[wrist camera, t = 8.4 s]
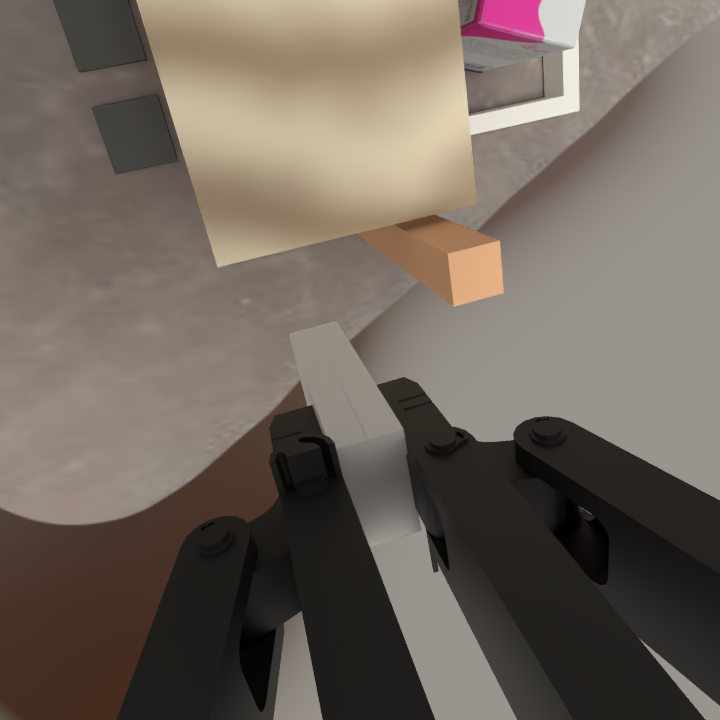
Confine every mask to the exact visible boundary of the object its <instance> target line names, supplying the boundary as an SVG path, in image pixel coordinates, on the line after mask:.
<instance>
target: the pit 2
mask: <svg viewBox="0 0 720 720" xmlns="http://www.w3.org/2000/svg"><path fill="white" fill-rule="evenodd" d="M92 110H93V112H94V115H95V118H96V121H97V124H98V126H99V129H100V132H101V135H102V137H103V140H104V143H105V146H106V149H107V151H108V154H109V157H110V160H111V163H112V165H113V168H114V171H115V174H120V173H124V172H129V171H134V170H138V169H143V168H148V167H152V166H157V165H162V164H166V163H171V162H176V161H178V160H177V156H176V153H175V150H174V147H173V143H172V140H171V137H170V134H169V131H168V127H167V124H166V121H165V118H164V114H163V111H162V108H161V105H160V102H159V98H158V95H154V96H149V97H143V98H138V99H133V100H128V101H123V102H118V103H113V104H108V105H103V106H97V107H92Z"/></svg>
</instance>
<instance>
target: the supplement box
mask: <svg viewBox="0 0 720 720" xmlns="http://www.w3.org/2000/svg"><path fill="white" fill-rule="evenodd" d="M585 3H586V0H458V7H459V18H460V28H461V39H462V49H463V60H464V69H465V70H469V71H474V72H479V73H482V72H484V71H488V70H491V69H495V68H499V67H502V66H506V65H510V64H514V63H518V62H522V61H526V60H530V59H534V58H538V57H541V56H545V55H549V54H553V53H557V52H561V51H564V50H568V49H573V48H574V47H575V46H576V42H577V37H578V33H579V28H580V24H581V20H582V16H583V11H584V7H585Z"/></svg>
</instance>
